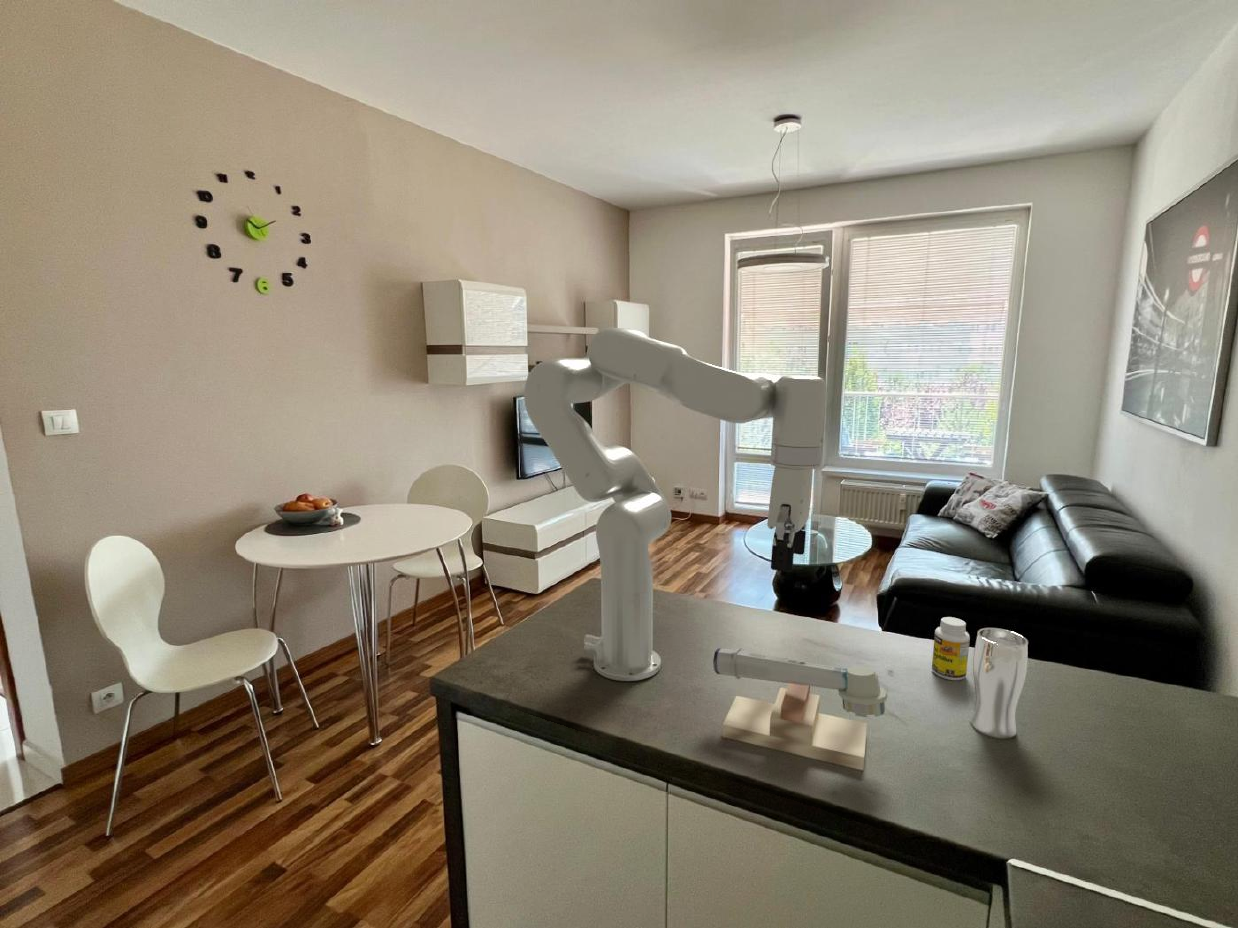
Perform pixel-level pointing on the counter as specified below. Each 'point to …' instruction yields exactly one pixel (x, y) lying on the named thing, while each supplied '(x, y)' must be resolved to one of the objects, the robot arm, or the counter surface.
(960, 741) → the counter surface
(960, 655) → the supplement bottle
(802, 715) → the stepped podium stack
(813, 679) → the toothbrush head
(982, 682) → the beer glass
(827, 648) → the counter surface
